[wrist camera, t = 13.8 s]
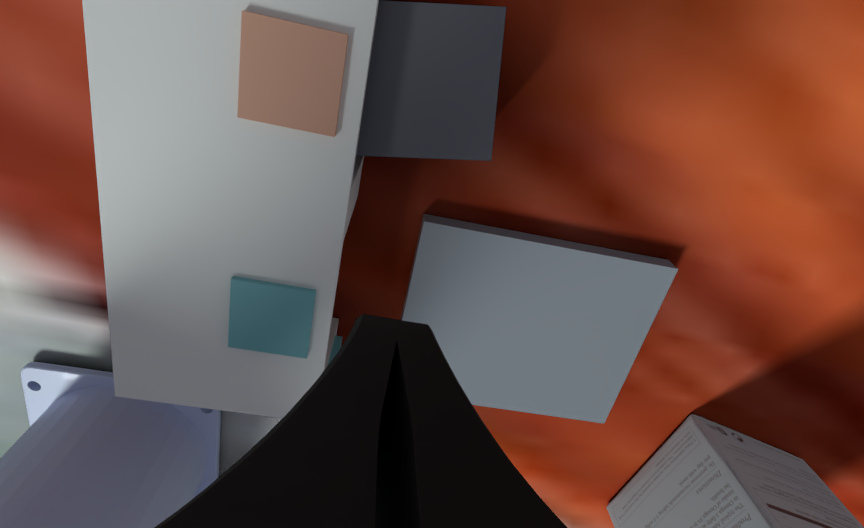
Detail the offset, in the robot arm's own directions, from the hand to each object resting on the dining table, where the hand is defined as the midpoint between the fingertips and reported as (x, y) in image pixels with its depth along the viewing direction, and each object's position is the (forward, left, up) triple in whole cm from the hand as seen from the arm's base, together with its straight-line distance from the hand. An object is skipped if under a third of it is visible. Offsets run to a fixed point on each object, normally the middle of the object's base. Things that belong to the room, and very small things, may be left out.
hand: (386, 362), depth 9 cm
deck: (-5, -6, -10) cm, 12 cm away
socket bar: (0, +5, -10) cm, 11 cm away
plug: (+4, +2, -10) cm, 11 cm away
